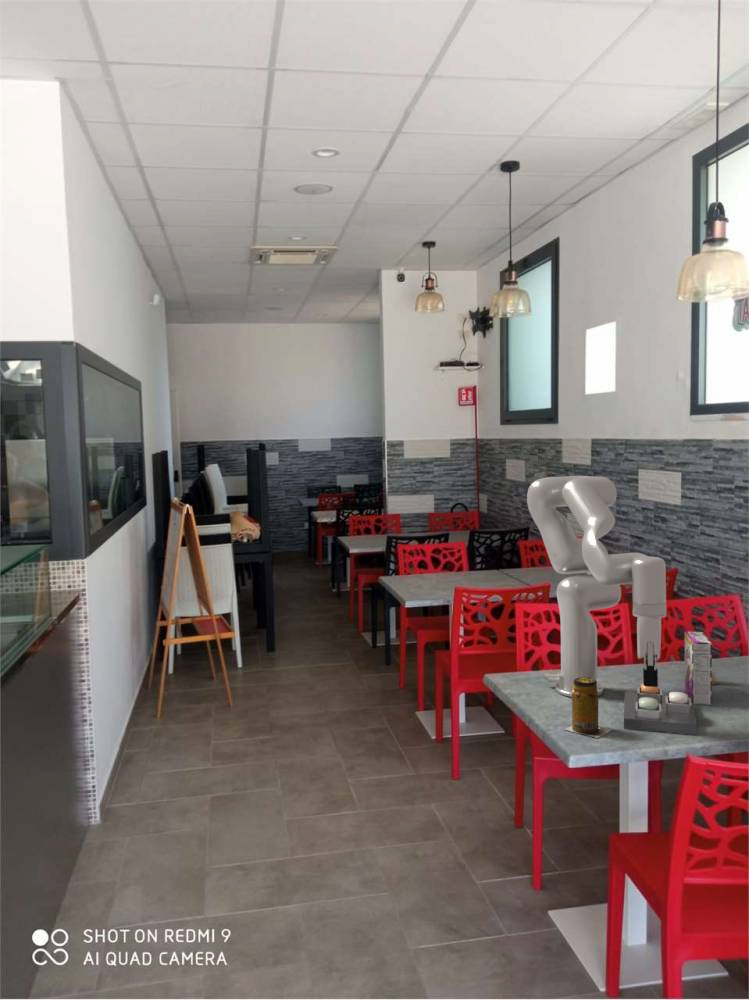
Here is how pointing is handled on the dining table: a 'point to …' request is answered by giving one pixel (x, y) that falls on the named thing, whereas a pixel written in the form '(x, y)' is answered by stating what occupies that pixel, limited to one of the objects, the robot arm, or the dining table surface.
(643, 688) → the terracotta button
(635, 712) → the button panel
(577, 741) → the dining table surface
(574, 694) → the condiment
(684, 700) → the cream button
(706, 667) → the candy bar box
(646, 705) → the sage button
